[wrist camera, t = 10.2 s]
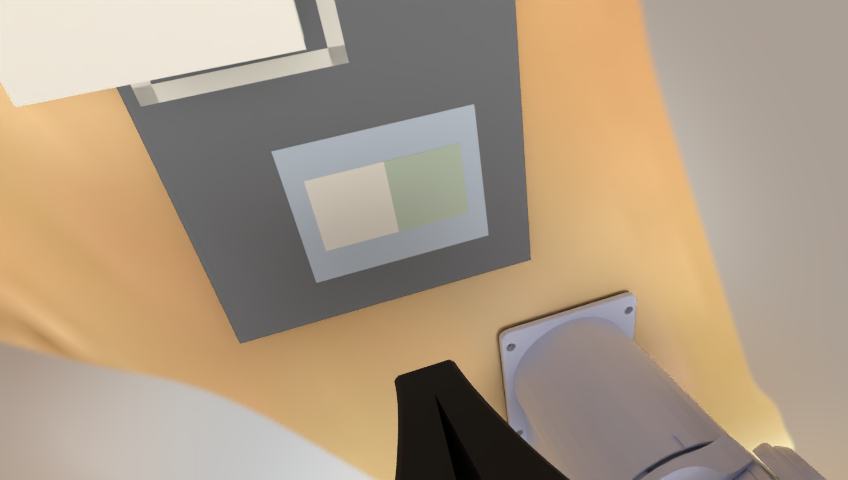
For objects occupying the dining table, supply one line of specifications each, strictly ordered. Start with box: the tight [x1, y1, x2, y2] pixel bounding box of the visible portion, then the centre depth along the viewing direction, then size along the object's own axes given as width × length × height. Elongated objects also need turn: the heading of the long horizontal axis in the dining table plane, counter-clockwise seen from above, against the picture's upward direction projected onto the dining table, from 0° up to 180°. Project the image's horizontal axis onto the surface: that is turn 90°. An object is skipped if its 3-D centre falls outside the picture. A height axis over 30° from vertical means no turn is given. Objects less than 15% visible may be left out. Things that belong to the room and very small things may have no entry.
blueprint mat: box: [117, 0, 531, 343], centre depth 17 cm, size 20×14×1 cm
